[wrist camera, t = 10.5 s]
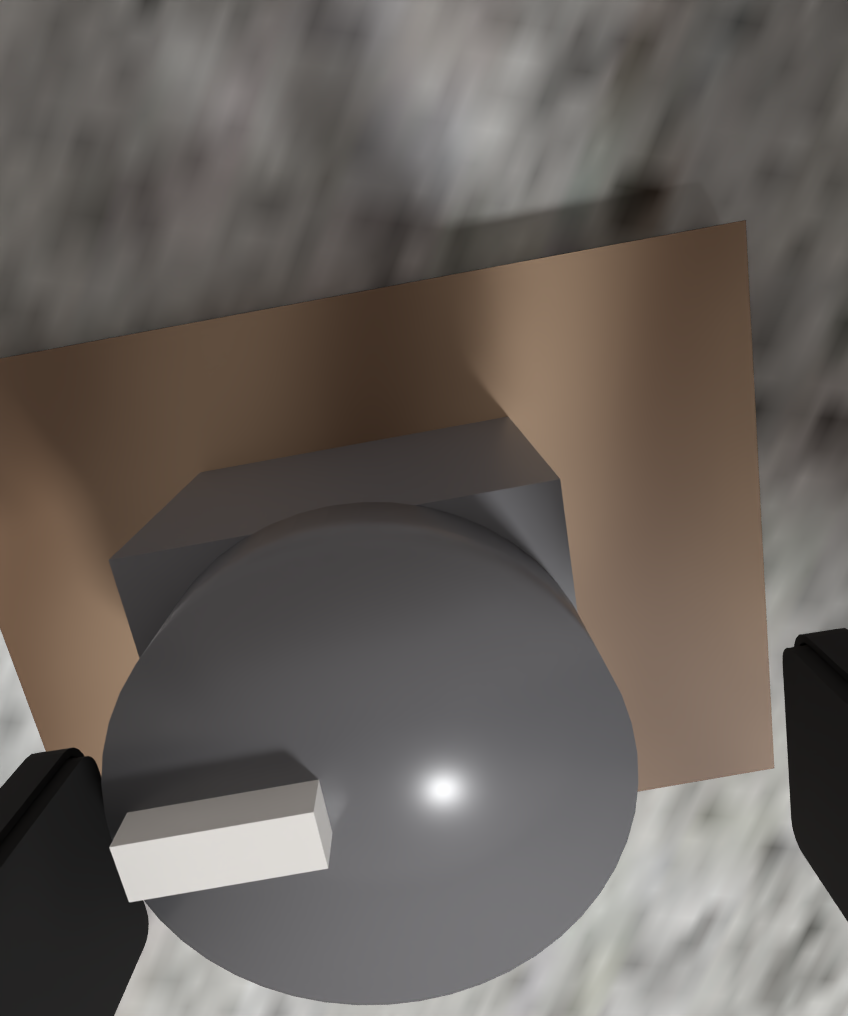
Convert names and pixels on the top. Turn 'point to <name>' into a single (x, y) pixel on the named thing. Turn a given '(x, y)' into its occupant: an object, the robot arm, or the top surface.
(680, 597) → the board
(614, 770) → the knob
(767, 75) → the top surface
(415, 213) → the top surface
